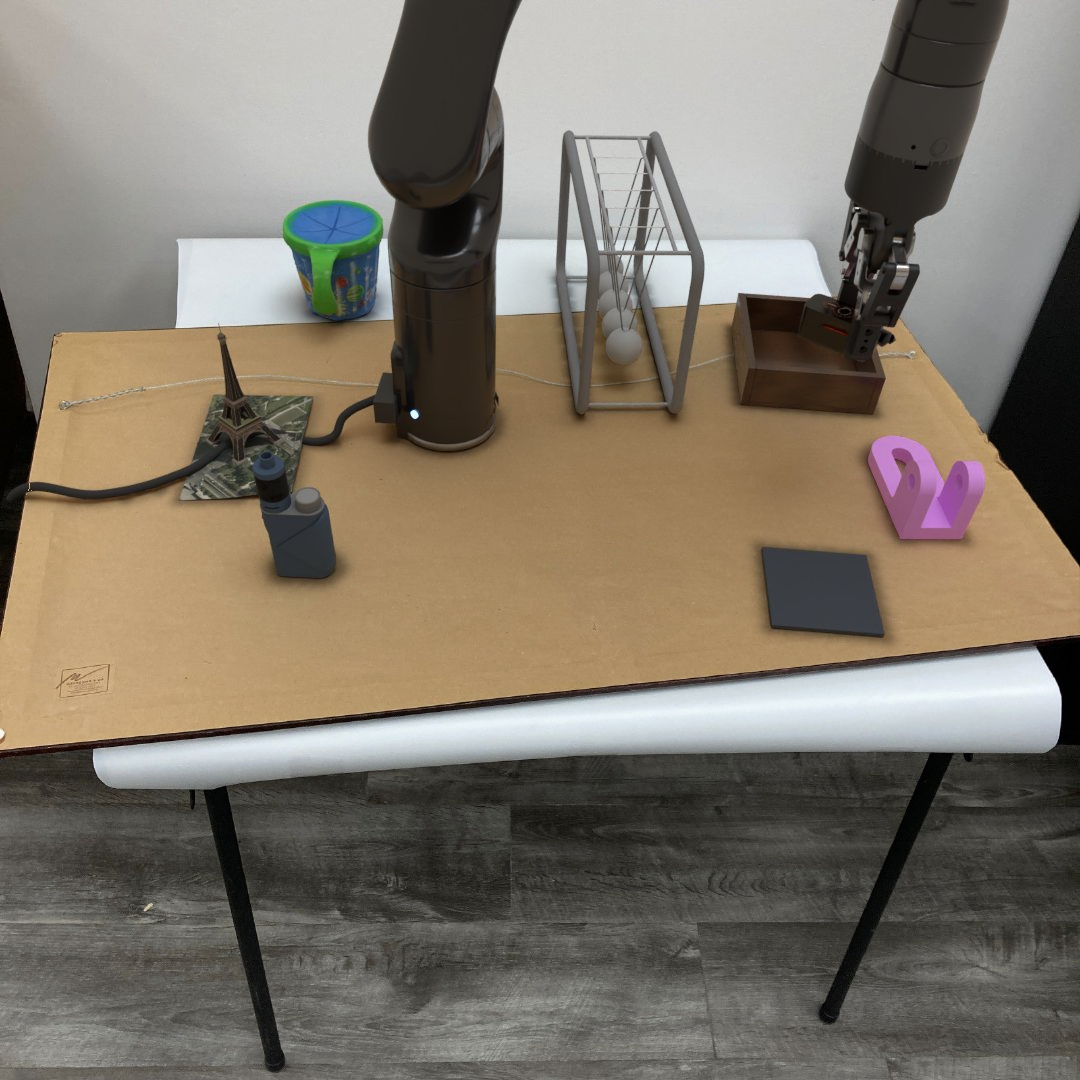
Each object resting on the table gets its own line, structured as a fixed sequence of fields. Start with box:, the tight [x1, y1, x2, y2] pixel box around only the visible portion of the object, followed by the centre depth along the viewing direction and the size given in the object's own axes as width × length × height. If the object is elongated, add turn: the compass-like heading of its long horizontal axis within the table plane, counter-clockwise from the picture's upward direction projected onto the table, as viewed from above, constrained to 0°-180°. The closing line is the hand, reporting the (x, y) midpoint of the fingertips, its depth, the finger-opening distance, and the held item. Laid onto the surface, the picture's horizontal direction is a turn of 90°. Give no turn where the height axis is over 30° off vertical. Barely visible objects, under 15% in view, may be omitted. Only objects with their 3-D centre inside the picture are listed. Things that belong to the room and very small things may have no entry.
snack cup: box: [282, 199, 384, 322], centre depth 107 cm, size 16×10×10 cm
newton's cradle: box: [555, 129, 706, 415], centre depth 102 cm, size 30×10×18 cm, turn 3°
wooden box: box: [730, 292, 887, 415], centre depth 104 cm, size 14×15×4 cm
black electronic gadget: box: [798, 293, 897, 362], centre depth 82 cm, size 5×7×3 cm, turn 54°
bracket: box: [867, 435, 986, 540], centre depth 89 cm, size 13×6×7 cm, turn 2°
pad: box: [761, 546, 886, 638], centre depth 82 cm, size 9×9×1 cm
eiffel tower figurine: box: [178, 322, 314, 501], centre depth 88 cm, size 15×10×13 cm
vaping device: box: [252, 451, 337, 579], centre depth 77 cm, size 3×5×12 cm, turn 88°
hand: (850, 338), depth 82 cm, fingers closed on black electronic gadget, 5 cm apart
